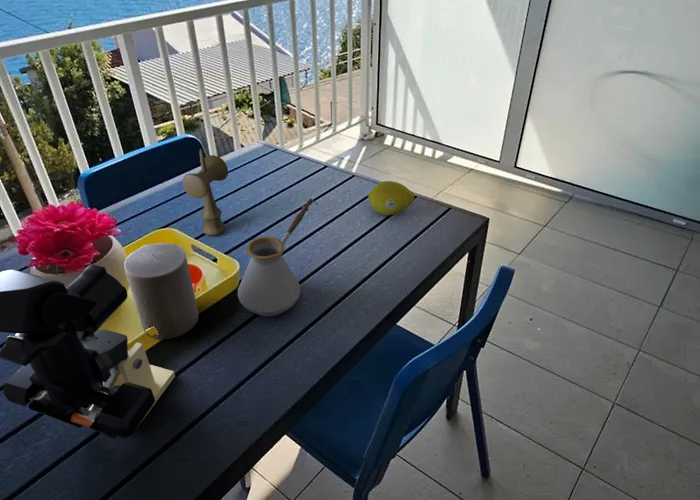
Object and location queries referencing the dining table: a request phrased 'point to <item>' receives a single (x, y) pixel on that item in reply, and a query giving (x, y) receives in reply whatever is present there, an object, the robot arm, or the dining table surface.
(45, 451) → the dining table surface
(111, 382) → the lever
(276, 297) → the coffee pot
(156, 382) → the bracket
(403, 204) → the lemon
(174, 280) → the pillar candle
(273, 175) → the dining table surface
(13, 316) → the robot arm
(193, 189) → the kendama
